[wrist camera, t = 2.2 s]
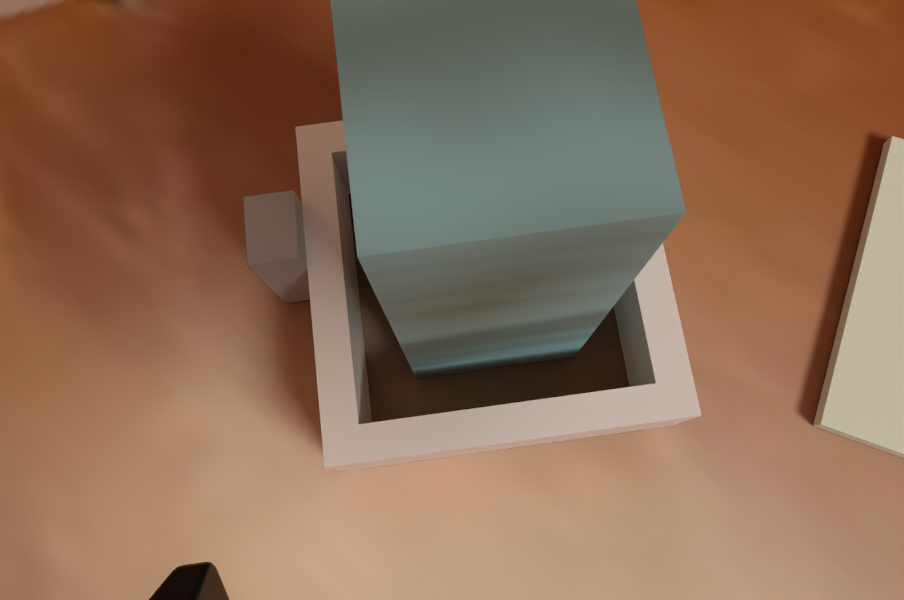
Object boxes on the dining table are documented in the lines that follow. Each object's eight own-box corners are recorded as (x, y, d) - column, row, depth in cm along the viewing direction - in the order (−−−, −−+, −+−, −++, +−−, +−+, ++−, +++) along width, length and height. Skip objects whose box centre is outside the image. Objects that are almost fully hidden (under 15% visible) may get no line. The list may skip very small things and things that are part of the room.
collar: (670, 425, 22) (713, 411, 18) (298, 477, 22) (260, 474, 18) (608, 131, 24) (634, 63, 20) (275, 175, 24) (238, 115, 20)
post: (574, 356, 22) (686, 212, 11) (416, 378, 22) (357, 257, 11) (547, 209, 24) (621, -61, 12) (398, 229, 24) (327, -23, 12)
